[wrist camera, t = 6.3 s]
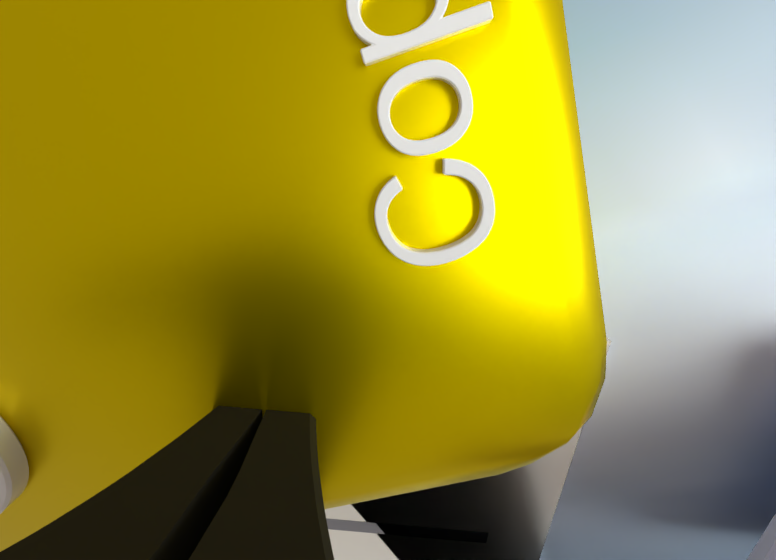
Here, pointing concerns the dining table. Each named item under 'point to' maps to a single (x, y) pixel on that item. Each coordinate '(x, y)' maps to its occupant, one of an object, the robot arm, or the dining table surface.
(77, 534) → the robot arm
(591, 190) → the dining table surface
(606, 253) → the dining table surface
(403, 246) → the element tile
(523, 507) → the letter
